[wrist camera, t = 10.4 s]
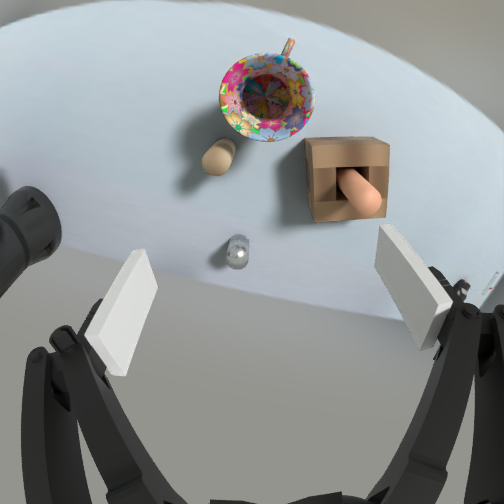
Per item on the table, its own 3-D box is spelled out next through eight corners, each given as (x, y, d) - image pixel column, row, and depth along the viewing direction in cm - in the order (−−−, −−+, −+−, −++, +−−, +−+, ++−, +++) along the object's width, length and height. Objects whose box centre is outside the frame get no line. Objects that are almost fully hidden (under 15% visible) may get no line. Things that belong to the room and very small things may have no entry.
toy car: (436, 304, 52) (451, 329, 45) (470, 262, 46) (489, 285, 39) (444, 309, 52) (459, 333, 46) (477, 269, 47) (496, 291, 40)
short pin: (232, 254, 46) (230, 271, 42) (225, 237, 44) (222, 253, 40) (251, 249, 45) (251, 266, 41) (245, 232, 44) (244, 247, 40)
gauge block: (308, 205, 41) (314, 222, 36) (304, 138, 36) (311, 145, 31) (371, 201, 40) (385, 217, 35) (372, 136, 35) (389, 144, 30)
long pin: (329, 182, 39) (353, 216, 29) (329, 160, 38) (354, 188, 27) (350, 181, 39) (380, 214, 29) (350, 160, 37) (382, 187, 27)
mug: (284, 140, 36) (293, 155, 27) (220, 116, 35) (205, 123, 26) (318, 63, 30) (339, 53, 21) (252, 38, 29) (249, 18, 20)
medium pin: (214, 161, 38) (204, 177, 31) (211, 139, 37) (199, 150, 30) (237, 158, 38) (232, 174, 31) (234, 136, 36) (228, 146, 30)
